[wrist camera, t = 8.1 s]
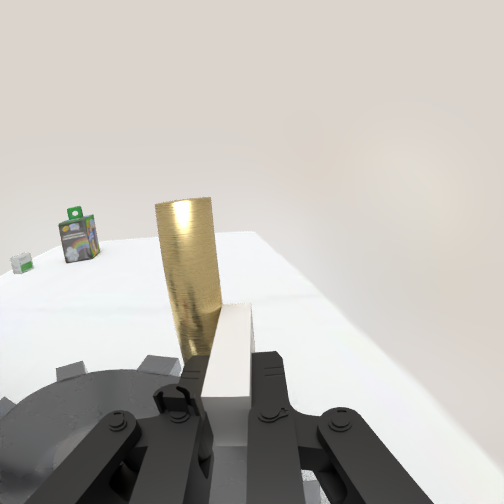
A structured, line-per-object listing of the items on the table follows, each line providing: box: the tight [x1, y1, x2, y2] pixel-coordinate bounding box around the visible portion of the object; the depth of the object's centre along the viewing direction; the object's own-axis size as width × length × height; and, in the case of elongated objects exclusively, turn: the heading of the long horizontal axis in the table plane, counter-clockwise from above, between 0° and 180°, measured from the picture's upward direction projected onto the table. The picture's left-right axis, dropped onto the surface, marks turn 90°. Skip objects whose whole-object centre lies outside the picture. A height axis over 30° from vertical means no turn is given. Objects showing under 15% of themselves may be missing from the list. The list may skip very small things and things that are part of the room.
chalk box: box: [59, 206, 100, 263], centre depth 66 cm, size 9×9×15 cm
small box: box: [10, 253, 34, 274], centre depth 57 cm, size 6×6×5 cm
